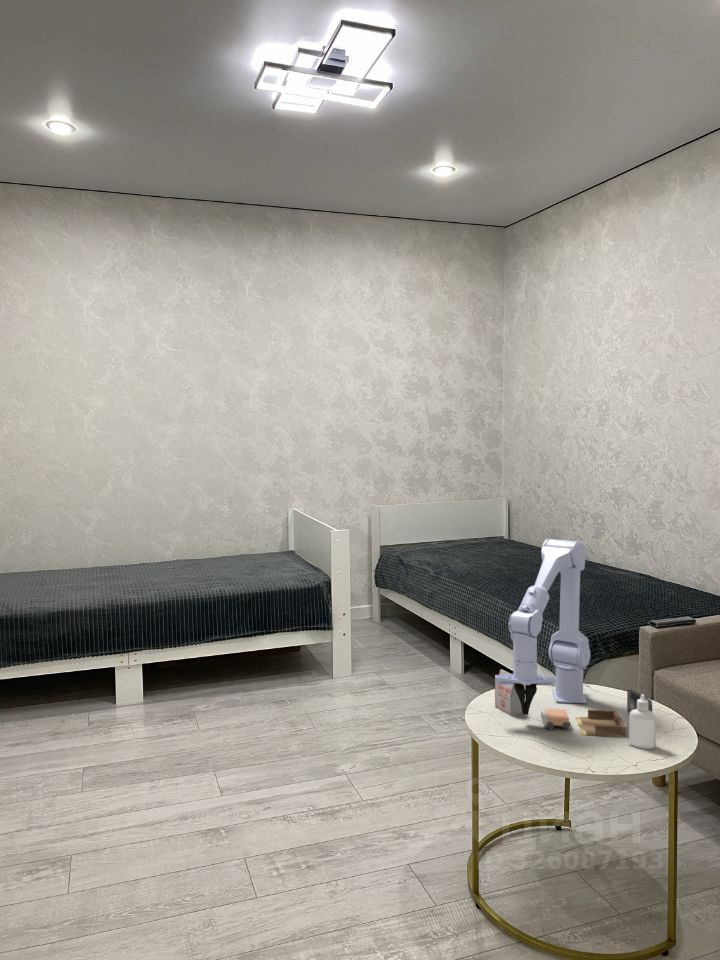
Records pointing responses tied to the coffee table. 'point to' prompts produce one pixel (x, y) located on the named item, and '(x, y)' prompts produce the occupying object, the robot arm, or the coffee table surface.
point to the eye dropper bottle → (642, 726)
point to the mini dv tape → (635, 701)
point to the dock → (602, 723)
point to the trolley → (555, 718)
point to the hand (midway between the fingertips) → (525, 713)
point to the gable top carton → (507, 698)
